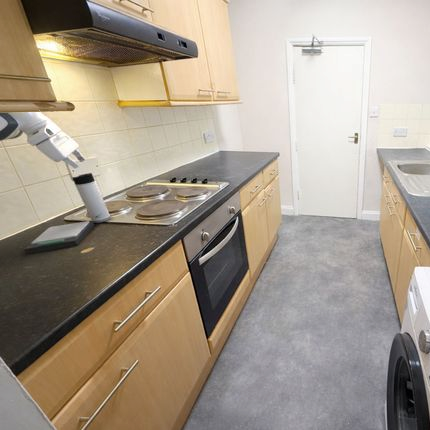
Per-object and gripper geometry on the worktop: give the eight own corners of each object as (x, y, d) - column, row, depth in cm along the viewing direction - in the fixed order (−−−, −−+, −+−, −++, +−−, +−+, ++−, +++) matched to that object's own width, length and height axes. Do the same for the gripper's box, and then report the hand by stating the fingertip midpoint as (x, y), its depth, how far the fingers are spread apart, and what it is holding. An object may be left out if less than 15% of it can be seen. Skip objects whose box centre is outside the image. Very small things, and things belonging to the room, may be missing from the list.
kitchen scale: (27, 254, 89) (23, 247, 88) (51, 232, 102) (48, 226, 101) (77, 245, 93) (74, 238, 92) (94, 225, 107) (92, 219, 106)
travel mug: (102, 223, 108) (81, 176, 99) (88, 222, 109) (66, 176, 100) (115, 216, 113) (96, 171, 105) (102, 216, 115) (82, 171, 106)
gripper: (46, 132, 104) (79, 161, 112) (25, 143, 88) (65, 176, 96) (62, 123, 105) (93, 153, 113) (43, 133, 89) (81, 166, 97)
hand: (80, 163), depth 104 cm, fingers open, 8 cm apart
